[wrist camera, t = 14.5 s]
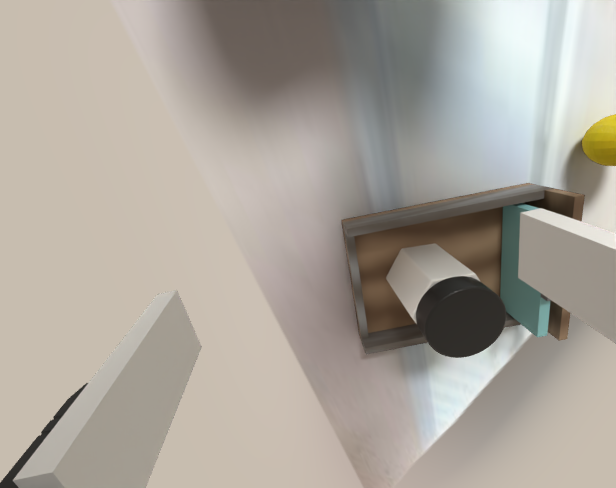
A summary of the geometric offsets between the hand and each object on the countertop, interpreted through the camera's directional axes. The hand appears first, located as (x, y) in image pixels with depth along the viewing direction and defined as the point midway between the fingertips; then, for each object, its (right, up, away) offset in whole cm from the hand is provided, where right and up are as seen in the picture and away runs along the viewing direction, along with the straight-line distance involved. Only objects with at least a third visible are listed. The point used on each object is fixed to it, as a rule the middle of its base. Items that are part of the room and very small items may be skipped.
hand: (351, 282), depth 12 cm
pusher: (+25, 0, +29) cm, 38 cm away
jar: (+13, -2, +30) cm, 33 cm away
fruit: (+32, +14, +26) cm, 44 cm away
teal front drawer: (+16, -1, +31) cm, 35 cm away
